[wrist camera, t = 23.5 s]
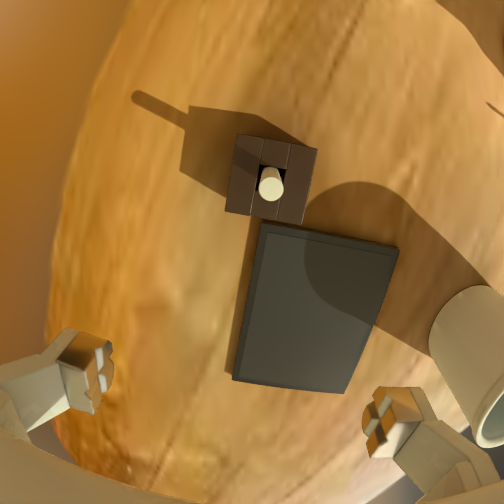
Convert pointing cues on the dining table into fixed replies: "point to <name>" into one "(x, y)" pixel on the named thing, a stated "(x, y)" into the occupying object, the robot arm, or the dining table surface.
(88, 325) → the dining table surface
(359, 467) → the dining table surface
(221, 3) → the dining table surface
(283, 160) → the pen stand
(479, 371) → the utensil holder
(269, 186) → the stylus
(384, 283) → the tablet
